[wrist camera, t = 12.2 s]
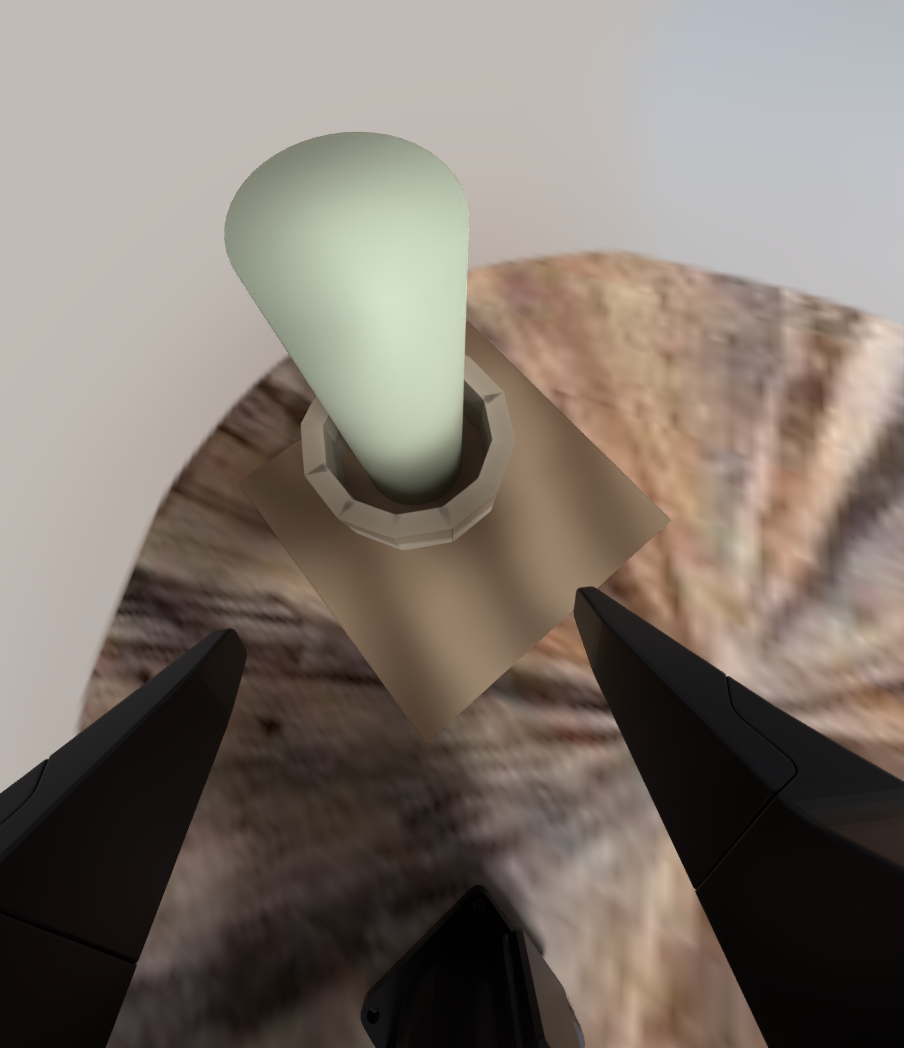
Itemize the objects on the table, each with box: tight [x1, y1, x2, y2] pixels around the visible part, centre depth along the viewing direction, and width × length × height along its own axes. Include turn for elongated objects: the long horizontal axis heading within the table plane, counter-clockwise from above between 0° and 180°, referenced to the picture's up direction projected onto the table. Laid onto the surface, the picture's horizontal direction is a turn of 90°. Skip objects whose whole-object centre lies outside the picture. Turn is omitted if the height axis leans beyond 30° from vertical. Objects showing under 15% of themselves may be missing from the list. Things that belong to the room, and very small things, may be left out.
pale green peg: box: [225, 132, 469, 505], centre depth 13 cm, size 5×5×12 cm
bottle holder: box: [238, 321, 671, 744], centre depth 17 cm, size 16×16×4 cm
